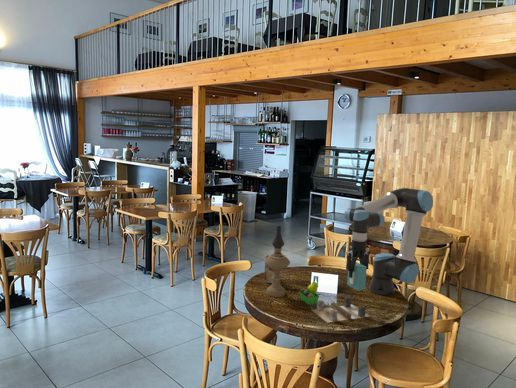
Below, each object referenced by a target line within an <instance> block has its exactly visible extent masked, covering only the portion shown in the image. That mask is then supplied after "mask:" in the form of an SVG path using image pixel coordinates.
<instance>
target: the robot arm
mask: <svg viewBox="0 0 516 388" xmlns="http://www.w3.org/2000/svg"><path fill="white" fill-rule="evenodd" d="M433 206H434V198H433V196H432V193H430V192H429V191H428V190H424V189H415V188H408V187H401V188H398V189H397V188H396V189H395V190H392V191H391V190H390V191H388V192H386V194H384V195H383V196H382V197H380V198H376V199H375V200H372V201H370V202H368V203H365V204H363V205H361V206H358V207H355V208H352V207H348V208H346V209H345V211H344V213H343V214H344V215H343V216H344V219H345V221H346V222H347V221H348V222H351V223H353V224H352V233H351V235H352V237H351V249H350V251H346V262H345V263H346V265H345V270H346V271H347V272H348V271H349V277H350V283H351V284H354V273H355V272H353V271H354V267H355V264H356V262H357V260H358V259H359V264H361V265H363V266H366V267H367V270H369V265H370V264H369V263H370V255H371V251H370V250H367V249H366V248H367V243H368V242H367V240H368V230H369V229H370V228H379V227H381V226H383V225H384V224H385V216H384V214H382V212H383V211H386V210H388V209H394V208H397V207H398V208H405V210H404V211H405V212H406V219H405V223H404V228H403V233H402V238H401V242H400V247H399V252H398V254H397V255H395V254H393V253H386V252H385V253H383V252H381V253H377V254H375V255H374V260H373V267H372V268H373V269H372V278H371V281H370V283H369V286H368V289H369V290H368V291H370V292H371V293H373V294H377V295H382V296H391V295H393V294H395V293H396V292H395V291H396V289H395V285H394V281H393V280H397V281H400V282H401V283H405V284H411V283H412V282H414V281H415V280H416V279H417V277H418V275H419V273H420V272H419V271H420V269H419V266H418V265H417V259H416V258H415V256H416V251H417V245H418V241H419V236H420V231H421V227H422V222H423V217H426V216H427V212H430V211H432V209H433Z"/></svg>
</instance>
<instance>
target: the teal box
mask: <svg viewBox="0 0 516 388" xmlns="http://www.w3.org/2000/svg"><path fill="white" fill-rule="evenodd" d="M367 270H368V269H367V267H366V266H363V265H361V264H360V262H357V261H356V264H355V267H354V271H353V272H355V273H354V284H351V283H350V277H349V271H348V270H347V280H346V285H347V286H349V287H350V288H352V289H354V290H355V291H363V290H366V281H367V280H366V279H367Z"/></svg>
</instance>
